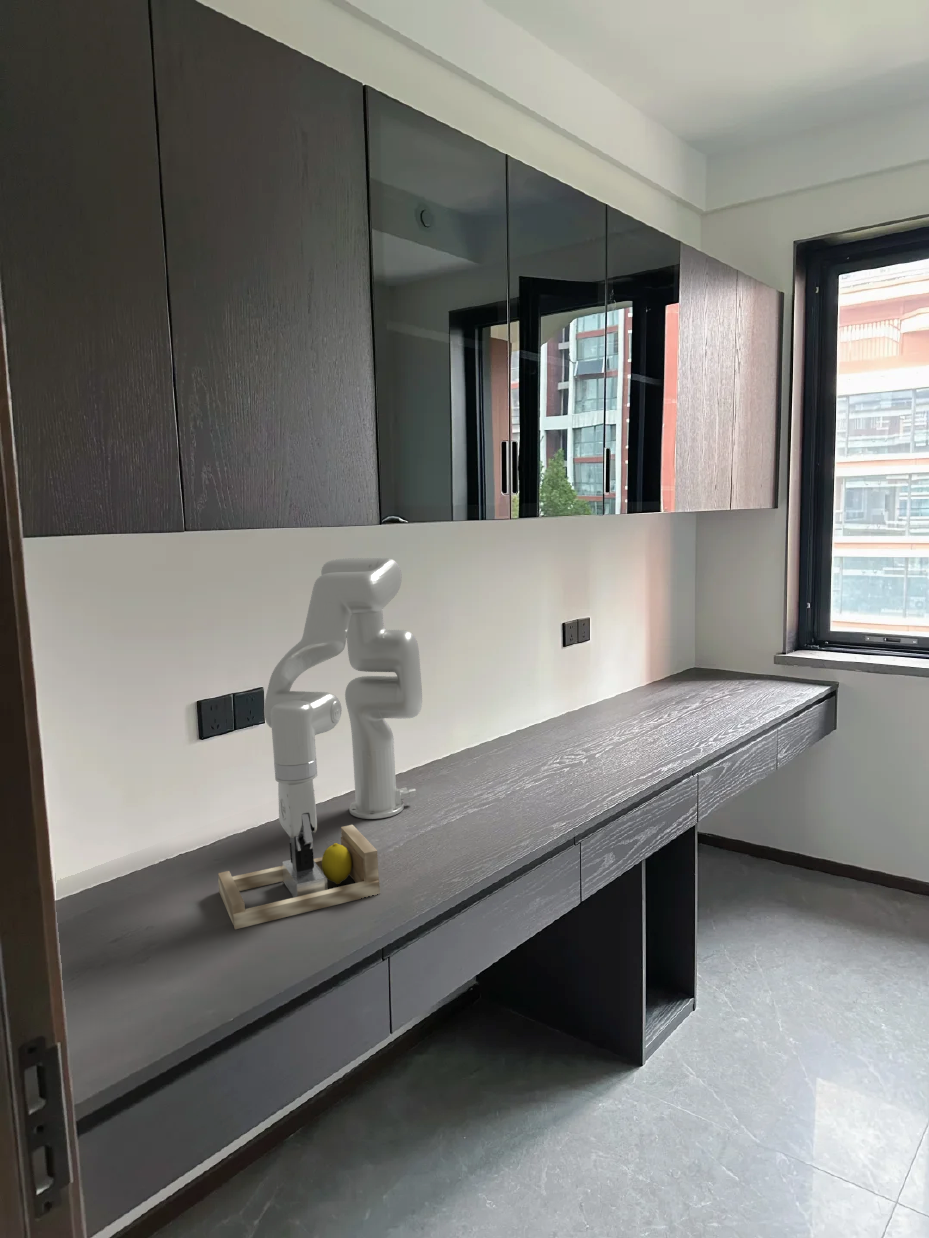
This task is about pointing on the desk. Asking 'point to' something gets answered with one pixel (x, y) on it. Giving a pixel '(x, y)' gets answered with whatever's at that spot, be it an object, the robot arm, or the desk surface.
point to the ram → (302, 876)
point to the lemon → (336, 863)
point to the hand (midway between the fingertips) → (302, 864)
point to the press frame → (361, 873)
